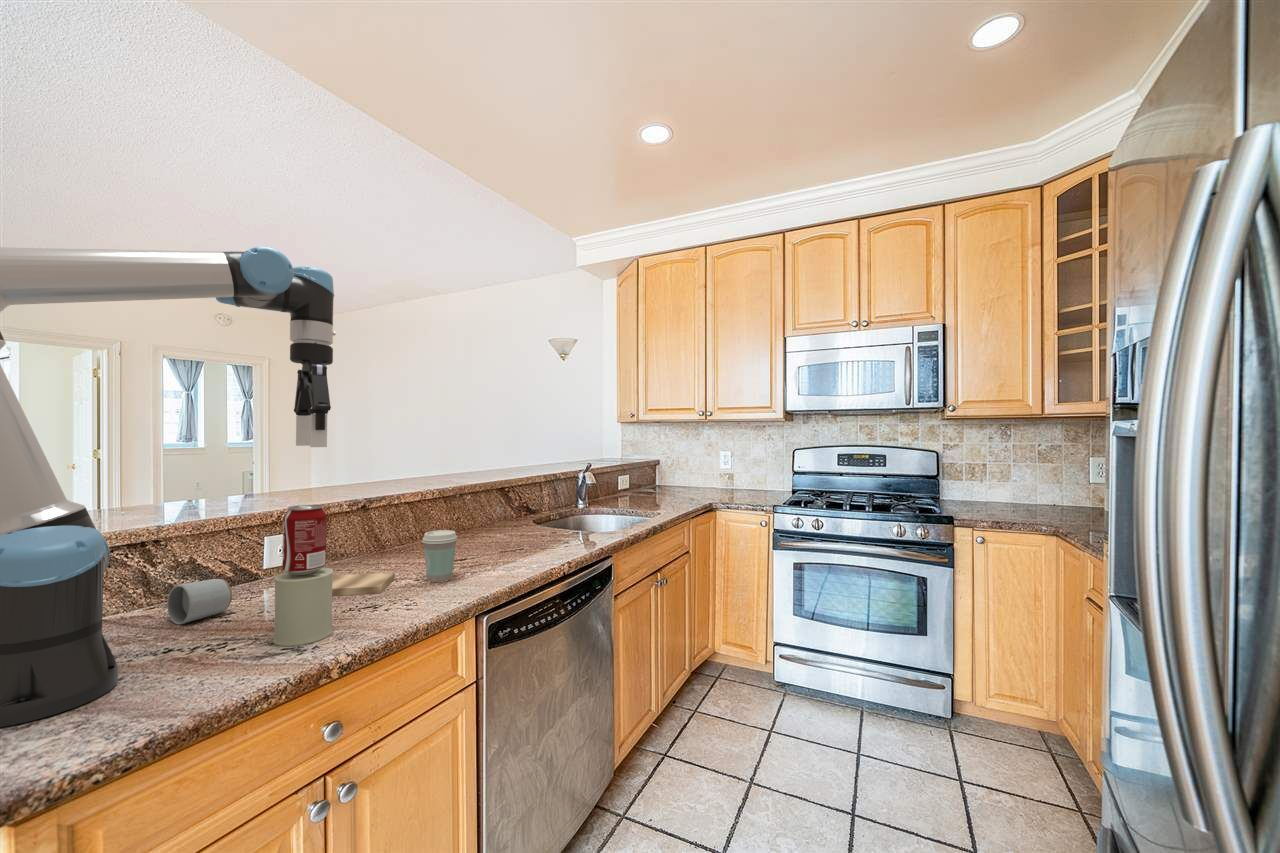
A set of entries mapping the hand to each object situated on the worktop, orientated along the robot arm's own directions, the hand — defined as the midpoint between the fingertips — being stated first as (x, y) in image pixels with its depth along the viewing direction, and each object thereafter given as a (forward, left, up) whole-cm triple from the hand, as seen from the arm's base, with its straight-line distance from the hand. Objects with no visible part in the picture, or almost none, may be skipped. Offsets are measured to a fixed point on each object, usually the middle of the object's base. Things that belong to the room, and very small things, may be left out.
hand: (310, 446), depth 106 cm
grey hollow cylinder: (-22, -5, -35) cm, 41 cm away
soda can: (+8, -10, -23) cm, 26 cm away
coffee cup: (+13, +28, -35) cm, 47 cm away
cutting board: (-4, +18, -35) cm, 39 cm away
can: (+8, -10, -35) cm, 37 cm away
